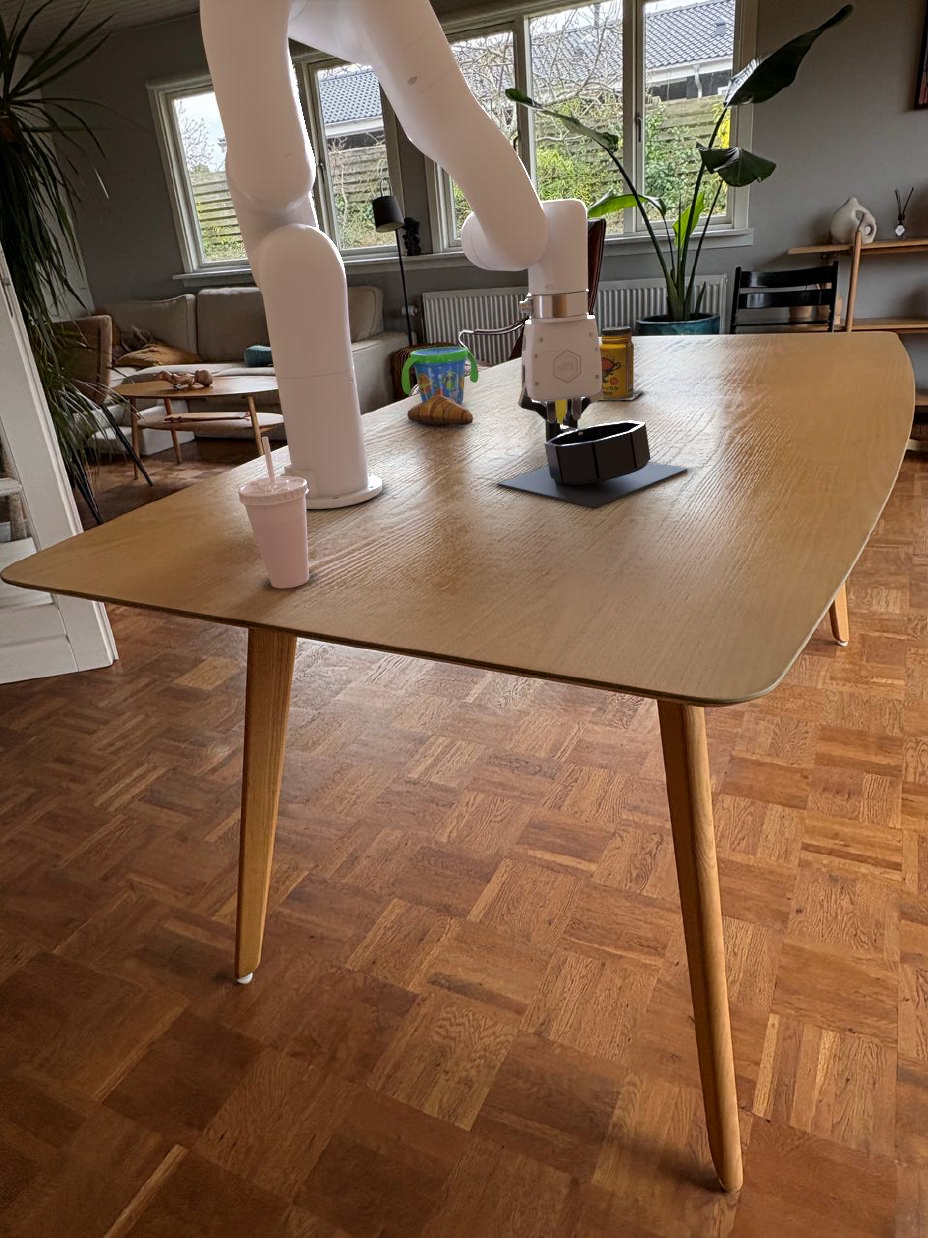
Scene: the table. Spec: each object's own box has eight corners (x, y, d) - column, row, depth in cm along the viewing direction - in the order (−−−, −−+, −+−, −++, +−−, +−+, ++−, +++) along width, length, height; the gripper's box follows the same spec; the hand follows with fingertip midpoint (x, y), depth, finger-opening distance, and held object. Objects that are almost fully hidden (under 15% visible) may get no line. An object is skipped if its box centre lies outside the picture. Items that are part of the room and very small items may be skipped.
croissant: (483, 421, 137) (481, 391, 135) (460, 430, 132) (458, 399, 130) (422, 417, 145) (419, 388, 143) (397, 425, 140) (394, 396, 138)
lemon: (575, 422, 131) (574, 371, 128) (576, 430, 126) (575, 377, 123) (541, 424, 132) (539, 374, 129) (541, 432, 127) (539, 380, 124)
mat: (594, 508, 92) (594, 505, 92) (497, 485, 103) (497, 483, 103) (687, 470, 102) (687, 468, 102) (589, 453, 113) (589, 451, 113)
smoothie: (326, 565, 82) (303, 427, 76) (318, 590, 76) (293, 444, 70) (263, 571, 82) (236, 433, 76) (251, 596, 76) (219, 450, 70)
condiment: (592, 400, 146) (591, 330, 141) (607, 391, 153) (607, 324, 148) (631, 401, 143) (632, 329, 138) (644, 391, 150) (646, 323, 144)
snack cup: (467, 396, 159) (463, 342, 155) (493, 403, 151) (489, 346, 146) (394, 409, 153) (388, 353, 149) (417, 417, 145) (411, 358, 140)
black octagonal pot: (664, 465, 95) (658, 423, 94) (571, 489, 94) (564, 448, 92) (599, 448, 115) (593, 413, 114) (522, 468, 114) (515, 433, 112)
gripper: (507, 315, 99) (515, 462, 107) (627, 303, 102) (625, 447, 110) (493, 311, 106) (500, 449, 114) (605, 299, 108) (605, 436, 116)
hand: (562, 447), depth 112 cm, fingers closed on black octagonal pot, 1 cm apart
